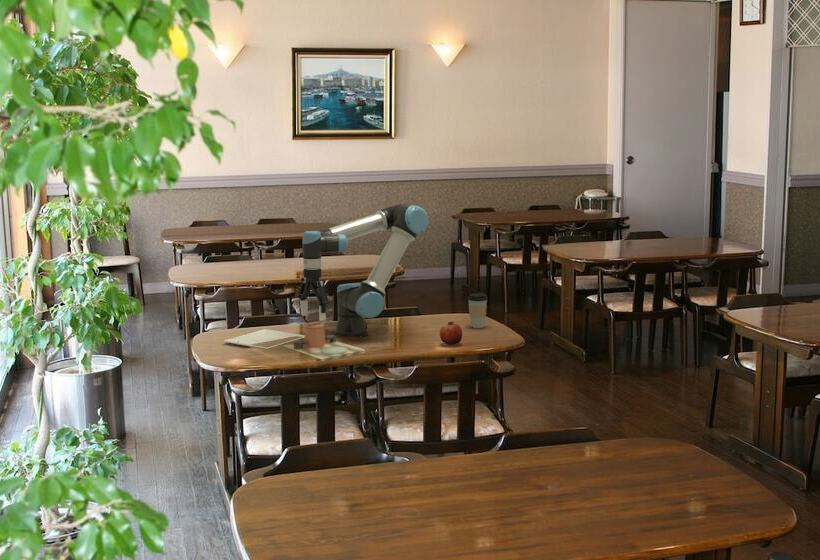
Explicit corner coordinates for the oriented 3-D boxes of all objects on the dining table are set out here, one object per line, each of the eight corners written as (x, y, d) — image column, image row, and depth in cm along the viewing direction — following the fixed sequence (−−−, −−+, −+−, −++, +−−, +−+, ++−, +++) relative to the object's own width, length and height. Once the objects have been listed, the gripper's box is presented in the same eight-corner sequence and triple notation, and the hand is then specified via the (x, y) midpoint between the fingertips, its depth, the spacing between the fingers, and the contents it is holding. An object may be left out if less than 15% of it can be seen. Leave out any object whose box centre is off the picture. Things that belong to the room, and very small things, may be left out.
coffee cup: (474, 323, 456) (474, 292, 454) (492, 326, 451) (491, 294, 448) (463, 327, 449) (463, 295, 446) (481, 330, 443) (481, 297, 441)
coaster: (337, 346, 413) (337, 345, 413) (352, 351, 405) (352, 349, 404) (315, 351, 406) (315, 349, 406) (330, 356, 398) (330, 354, 398)
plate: (265, 333, 447) (264, 328, 447) (308, 340, 432) (308, 335, 432) (223, 345, 426) (222, 340, 426) (267, 352, 411) (267, 348, 411)
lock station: (325, 340, 430) (324, 321, 429) (365, 352, 407) (365, 333, 406) (281, 348, 417) (281, 329, 415) (321, 361, 393) (320, 342, 392)
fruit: (458, 348, 411) (458, 325, 409) (436, 346, 415) (435, 323, 413) (466, 342, 421) (466, 319, 419) (444, 341, 424) (443, 318, 423)
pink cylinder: (323, 340, 424) (322, 319, 422) (334, 344, 417) (333, 322, 415) (296, 346, 415) (295, 324, 414) (307, 349, 409) (306, 327, 407)
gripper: (288, 265, 418) (290, 314, 421) (321, 272, 398) (322, 323, 402) (303, 263, 422) (304, 312, 426) (336, 270, 403) (337, 321, 407)
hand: (313, 318), depth 414 cm, fingers open, 13 cm apart
